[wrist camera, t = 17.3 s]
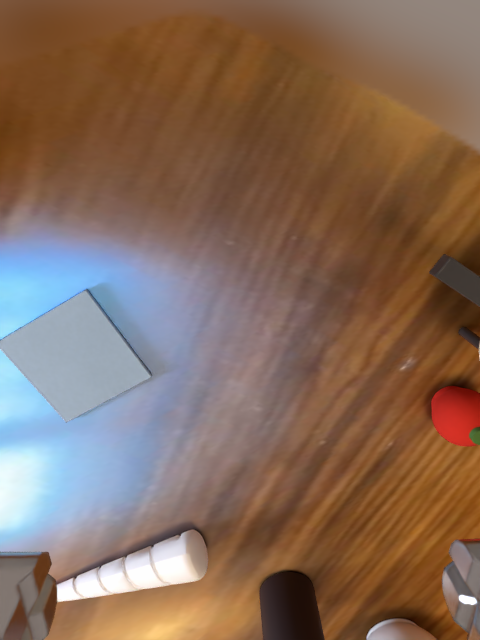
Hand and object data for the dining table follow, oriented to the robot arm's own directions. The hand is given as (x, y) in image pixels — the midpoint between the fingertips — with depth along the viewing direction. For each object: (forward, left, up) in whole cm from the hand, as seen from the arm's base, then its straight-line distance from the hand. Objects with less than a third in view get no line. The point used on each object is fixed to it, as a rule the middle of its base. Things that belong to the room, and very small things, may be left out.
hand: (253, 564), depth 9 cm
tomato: (+16, +22, -29) cm, 40 cm away
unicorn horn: (+38, -13, -29) cm, 50 cm away
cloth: (+10, -14, -29) cm, 34 cm away
